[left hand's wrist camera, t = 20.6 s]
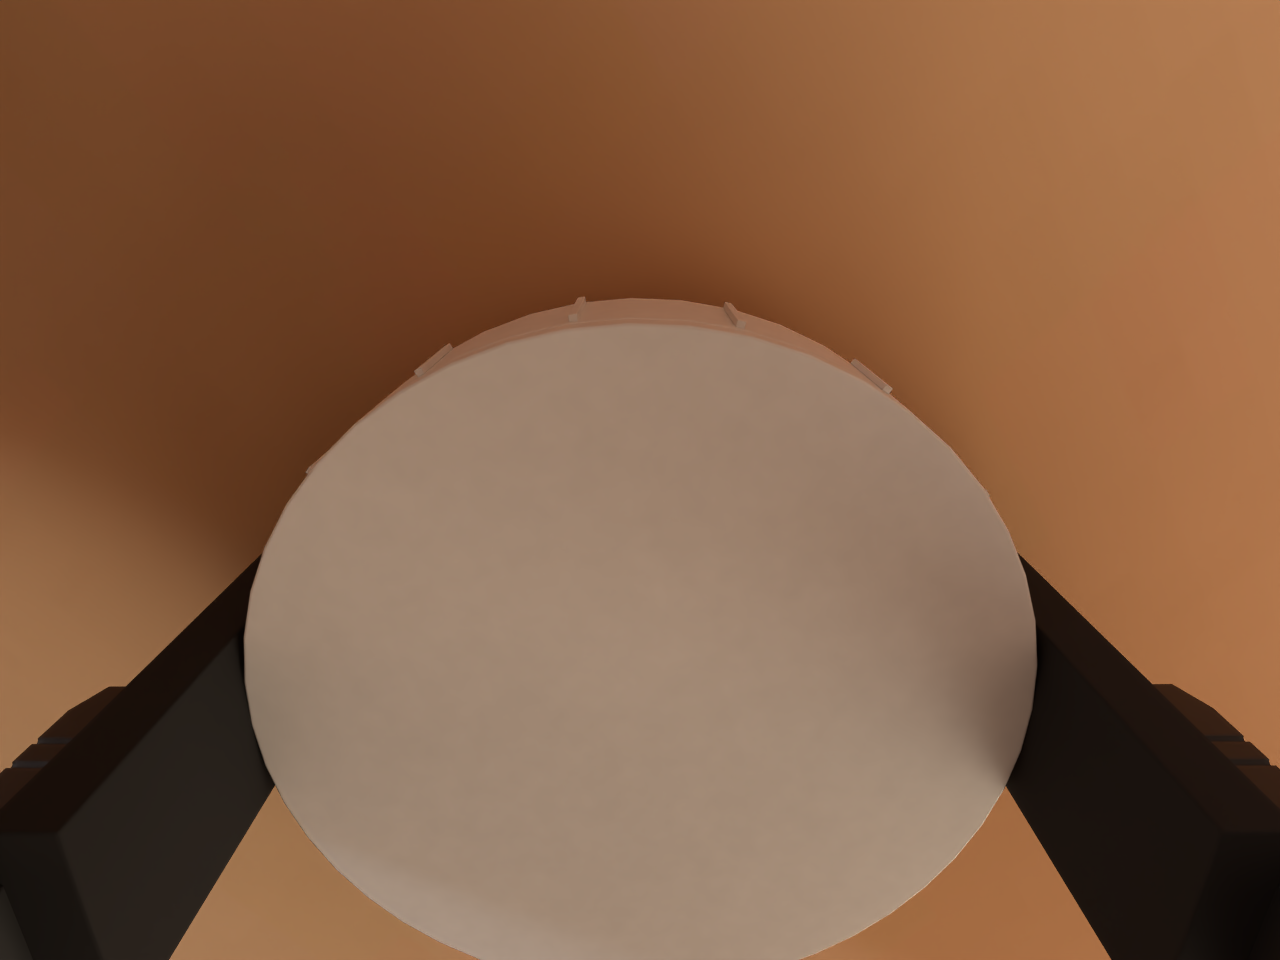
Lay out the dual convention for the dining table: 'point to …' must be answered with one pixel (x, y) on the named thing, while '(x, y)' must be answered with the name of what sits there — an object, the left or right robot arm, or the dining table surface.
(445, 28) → the dining table surface
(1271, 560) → the dining table surface
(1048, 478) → the dining table surface
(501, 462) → the lid
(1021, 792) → the left robot arm
